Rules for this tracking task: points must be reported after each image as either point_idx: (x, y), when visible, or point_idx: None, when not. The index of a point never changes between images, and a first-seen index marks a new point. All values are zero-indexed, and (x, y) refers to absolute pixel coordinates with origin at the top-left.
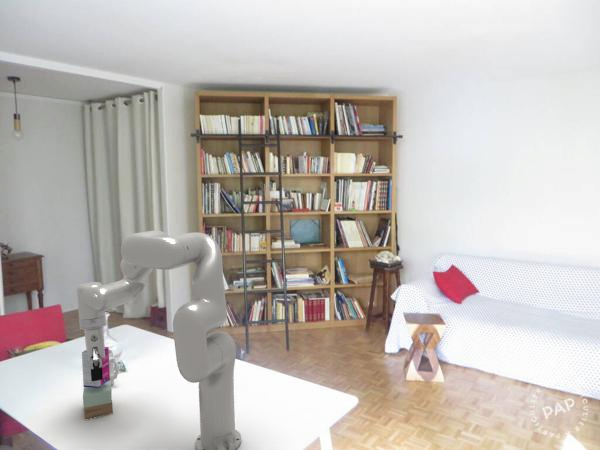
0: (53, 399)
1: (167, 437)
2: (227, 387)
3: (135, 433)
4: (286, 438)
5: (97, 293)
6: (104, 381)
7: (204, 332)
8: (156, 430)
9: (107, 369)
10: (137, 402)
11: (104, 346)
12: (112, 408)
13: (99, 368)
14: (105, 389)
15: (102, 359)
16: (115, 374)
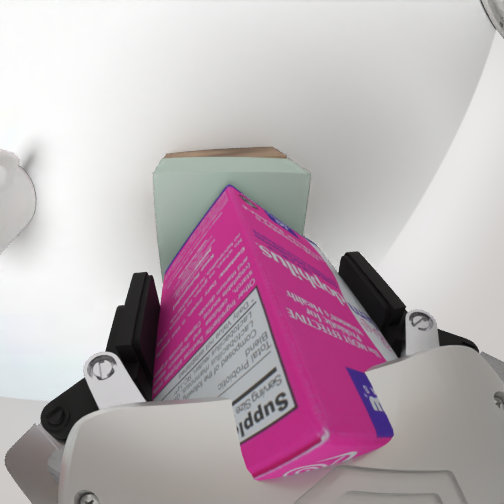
0: (87, 333)
1: (467, 53)
2: None
3: (427, 106)
4: None
5: None
6: (279, 222)
7: None
8: (437, 57)
9: (269, 233)
10: (224, 48)
11: (490, 459)
12: (277, 150)
13: (396, 317)
14: (280, 201)
15: (372, 348)
16: (9, 160)
